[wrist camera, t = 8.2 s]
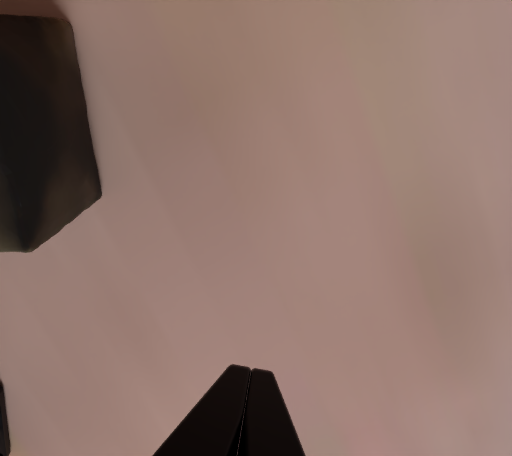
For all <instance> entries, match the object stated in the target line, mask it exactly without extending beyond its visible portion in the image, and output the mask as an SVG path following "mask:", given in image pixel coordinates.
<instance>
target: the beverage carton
mask: <svg viewBox="0 0 512 456" xmlns="http://www.w3.org/2000/svg"><path fill="white" fill-rule="evenodd" d="M101 196H102V191H101V186H100V181H99V176H98V169H97V165H96V161H95V157H94V153H93V147H92V141H91V135H90V130H89V124H88V119H87V109H86V102H85V98H84V93H83V89H82V84H81V76H80V69H79V65H78V62H77V57H76V50H75V42H74V35H73V30H72V27H71V25H70V24H69V23H68V22H66V21H64V20H62V19H58V18H51V17H43V16H16V15H2V14H1V15H0V252H24V253H27V252H32V251H33V250H35V249H36V248H38V247H39V246H40V245H41V244H43V243H44V242H46V241H47V240H49V239H50V238H51V237H52V236H54V235H55V234H57V233H58V232H59V231H60V230H61V229H62V228H63V227H64V226H65V225H67V224H68V223H70V222H71V221H73V220H74V219H75V218H76V217H77V216H78V215H79V214H81V213H82V212H83V211H84V210H85V209H87V208H89V207H90V206H91V205H92V204H93V203H95V202H96V201H97V200H99V199H100V198H101Z"/></svg>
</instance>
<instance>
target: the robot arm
mask: <svg viewBox="0 0 512 456" xmlns="http://www.w3.org/2000/svg"><path fill="white" fill-rule="evenodd" d="M250 373H251V375H250ZM249 379H250V381H249ZM248 386H249V387H248ZM247 392H248V393H247ZM246 398H247V399H246ZM245 404H246V405H245ZM244 410H245V411H244ZM243 416H244V417H243ZM242 422H243V423H242ZM241 428H242V429H241ZM240 434H241V435H240ZM239 440H240V441H239ZM238 446H239V447H238ZM237 452H238V453H237ZM9 454H10V443H9V434H8V426H7V418H6V410H5V401H4V393H3V388H2V387H1V385H0V456H9ZM153 456H305V453H304V451H303V448H302V445H301V443H300V440H299V438H298V435H297V433H296V430H295V428H294V425H293V422H292V420H291V417H290V415H289V412H288V410H287V407H286V404H285V402H284V399H283V397H282V394H281V392H280V389H279V387H278V384H277V381H276V379H275V376H274V374H273V373H272V372H271V371H268V370H263V369H257V368H254V369H252V370H251V369H250V368H249V367H246V366H240V365H235V364H232V365H230V366H229V367H228V368H227V369H226V370H225V371H224V372H223V374H222V375H221V376H220V377H219V378H218V379H217V381H216V382H215V383H214V384H213V385H212V386H211V388H210V389H209V390H208V391H207V392H206V393H205V395H204V396H203V397H202V398H201V399H200V400H199V402H198V403H197V404H196V405H195V406H194V407H193V409H192V410H191V411H190V412H189V413H188V415H187V416H186V417H185V418H184V419H183V420H182V422H181V423H180V424H179V425H178V426H177V427H176V429H175V430H174V431H173V432H172V433H171V434H170V436H169V437H168V438H167V439H166V440H165V441H164V443H163V444H162V445H161V446H160V447H159V449H158V450H157V451H156V452H155V453H154V454H153Z"/></svg>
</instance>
